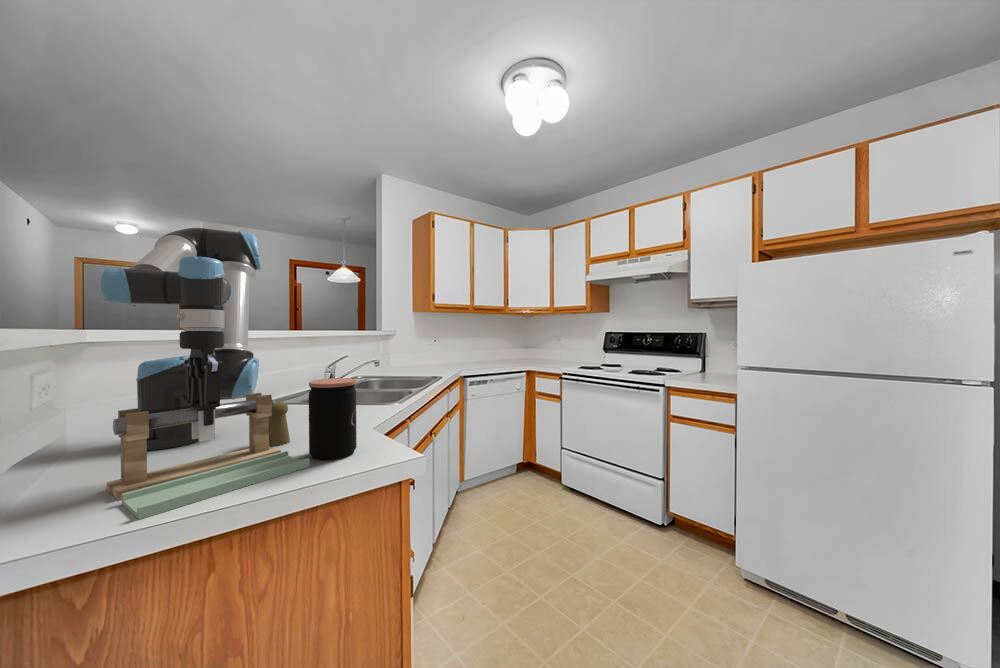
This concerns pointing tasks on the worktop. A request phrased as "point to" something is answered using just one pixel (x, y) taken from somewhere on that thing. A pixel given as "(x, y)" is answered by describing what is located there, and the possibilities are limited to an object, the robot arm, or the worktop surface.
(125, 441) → the rail rack
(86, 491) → the worktop surface
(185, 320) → the robot arm
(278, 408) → the olive green shaker
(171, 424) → the rail
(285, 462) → the tray
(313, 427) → the coffee jar
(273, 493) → the worktop surface
